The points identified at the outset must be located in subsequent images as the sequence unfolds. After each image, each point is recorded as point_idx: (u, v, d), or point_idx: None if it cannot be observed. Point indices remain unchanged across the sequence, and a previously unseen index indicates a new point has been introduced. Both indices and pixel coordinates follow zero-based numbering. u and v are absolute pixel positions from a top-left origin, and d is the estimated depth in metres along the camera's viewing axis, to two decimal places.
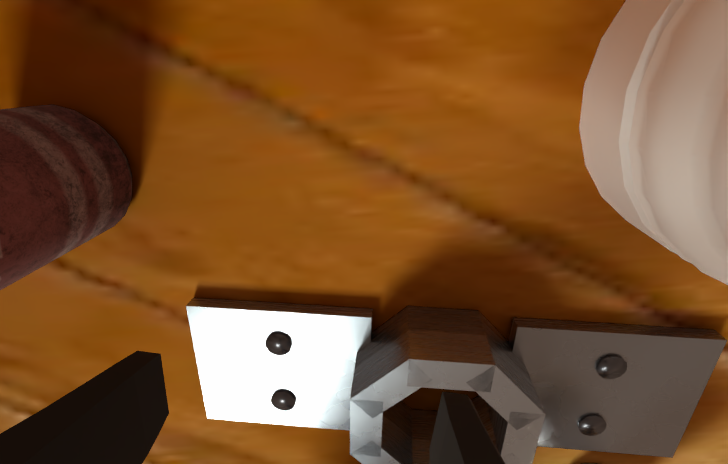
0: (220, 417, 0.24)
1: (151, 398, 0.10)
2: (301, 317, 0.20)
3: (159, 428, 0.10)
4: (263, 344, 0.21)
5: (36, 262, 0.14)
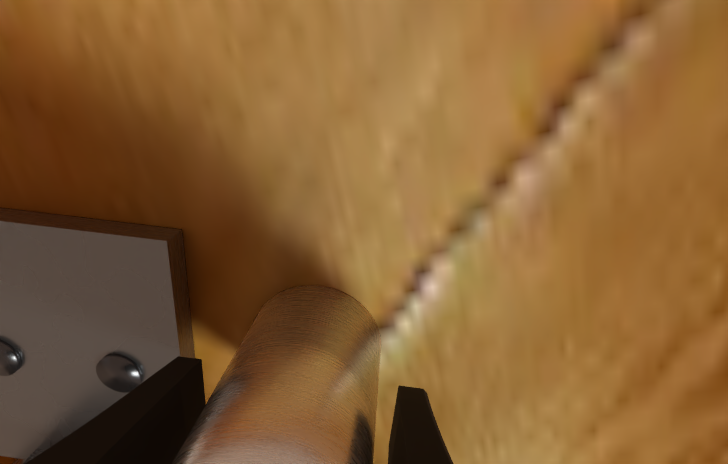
0: None
1: (193, 404, 0.10)
2: None
3: None
4: None
5: None
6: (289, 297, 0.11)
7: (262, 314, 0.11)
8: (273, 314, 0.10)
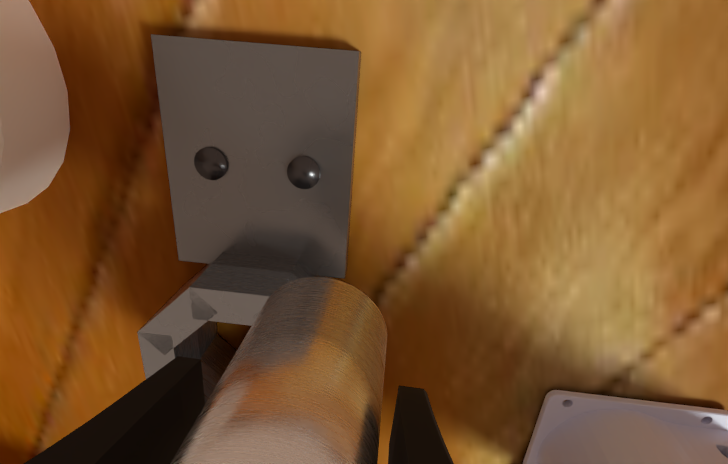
0: None
1: (192, 404, 0.10)
2: None
3: None
4: None
5: None
6: (297, 287, 0.11)
7: (269, 304, 0.11)
8: (281, 304, 0.10)
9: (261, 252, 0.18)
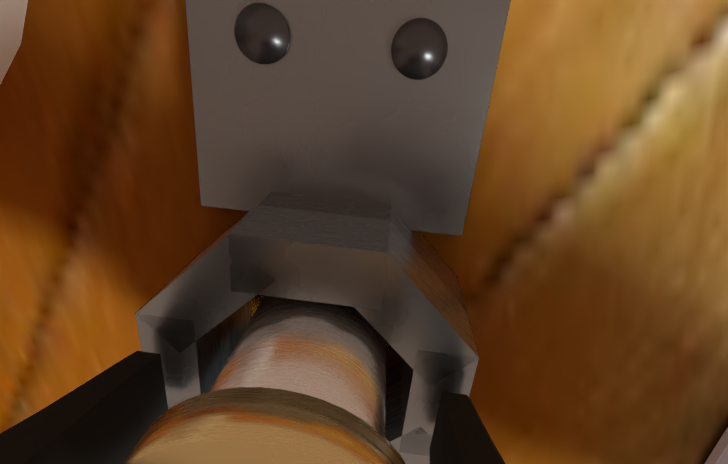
0: None
1: (151, 398, 0.10)
2: None
3: None
4: None
5: None
6: None
7: None
8: None
9: (333, 192, 0.12)
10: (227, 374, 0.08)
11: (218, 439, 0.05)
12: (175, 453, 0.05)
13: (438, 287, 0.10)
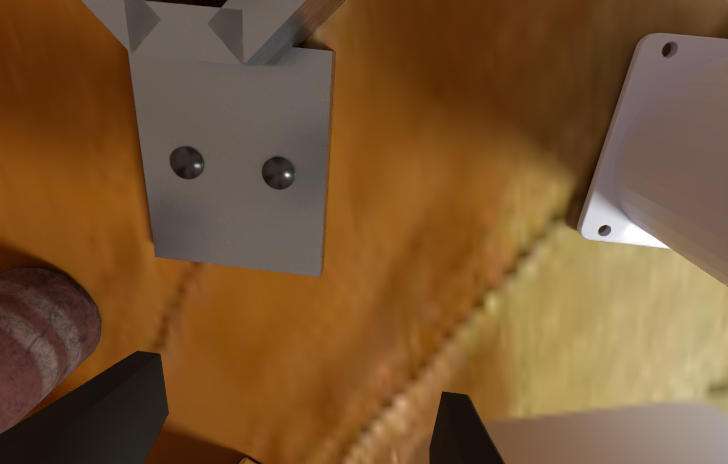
0: (317, 260, 0.18)
1: (151, 398, 0.10)
2: (144, 127, 0.16)
3: (159, 428, 0.10)
4: (192, 182, 0.17)
5: None
6: None
7: None
8: None
9: None
10: None
11: None
12: None
13: None
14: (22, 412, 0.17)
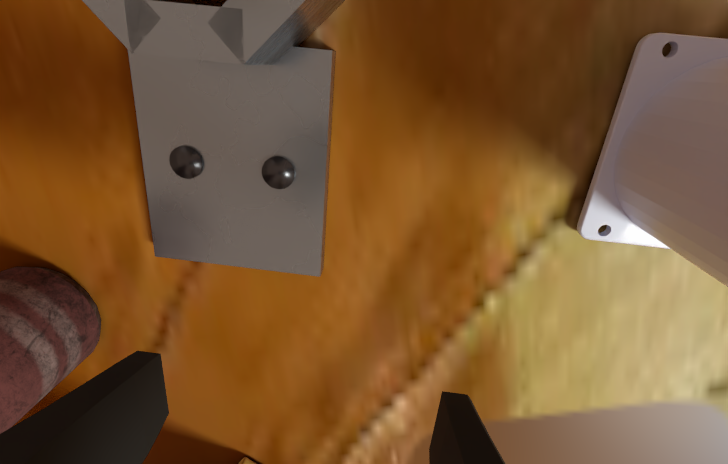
0: (317, 260, 0.18)
1: (151, 398, 0.10)
2: (144, 126, 0.16)
3: (159, 428, 0.10)
4: (192, 181, 0.17)
5: None
6: None
7: None
8: None
9: None
10: None
11: None
12: None
13: None
14: (21, 411, 0.17)
